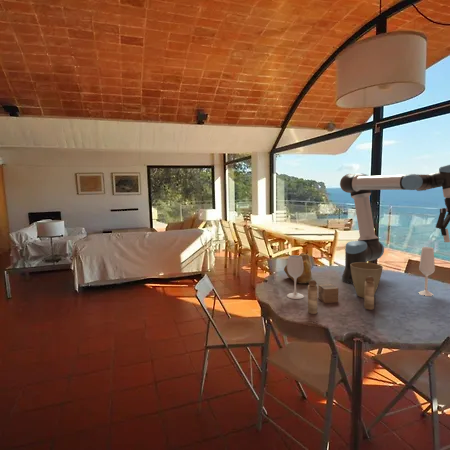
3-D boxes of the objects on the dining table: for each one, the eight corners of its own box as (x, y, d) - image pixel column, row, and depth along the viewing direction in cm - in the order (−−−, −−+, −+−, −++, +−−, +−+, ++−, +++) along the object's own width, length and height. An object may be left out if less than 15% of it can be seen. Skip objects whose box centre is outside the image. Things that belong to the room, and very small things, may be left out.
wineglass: (294, 300, 149) (294, 259, 147) (283, 295, 157) (283, 256, 154) (307, 297, 153) (307, 257, 151) (296, 292, 161) (296, 254, 158)
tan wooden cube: (318, 298, 152) (318, 284, 151) (331, 297, 152) (331, 284, 152) (324, 303, 145) (324, 289, 144) (338, 302, 145) (338, 288, 145)
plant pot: (360, 302, 144) (361, 270, 143) (344, 292, 159) (344, 263, 157) (388, 299, 147) (389, 267, 145) (369, 290, 161) (370, 261, 160)
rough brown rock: (286, 274, 199) (284, 252, 197) (312, 274, 193) (310, 251, 192) (282, 286, 177) (280, 262, 175) (311, 286, 171) (309, 260, 170)
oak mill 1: (306, 310, 136) (306, 278, 134) (314, 310, 136) (315, 278, 135) (310, 314, 132) (310, 281, 130) (318, 313, 132) (318, 280, 131)
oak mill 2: (362, 306, 139) (363, 275, 137) (370, 306, 139) (371, 274, 138) (367, 309, 135) (368, 277, 133) (375, 309, 135) (376, 277, 134)
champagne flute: (418, 291, 158) (420, 246, 155) (433, 293, 154) (436, 247, 151) (417, 294, 152) (419, 248, 150) (433, 297, 149) (435, 249, 146)
